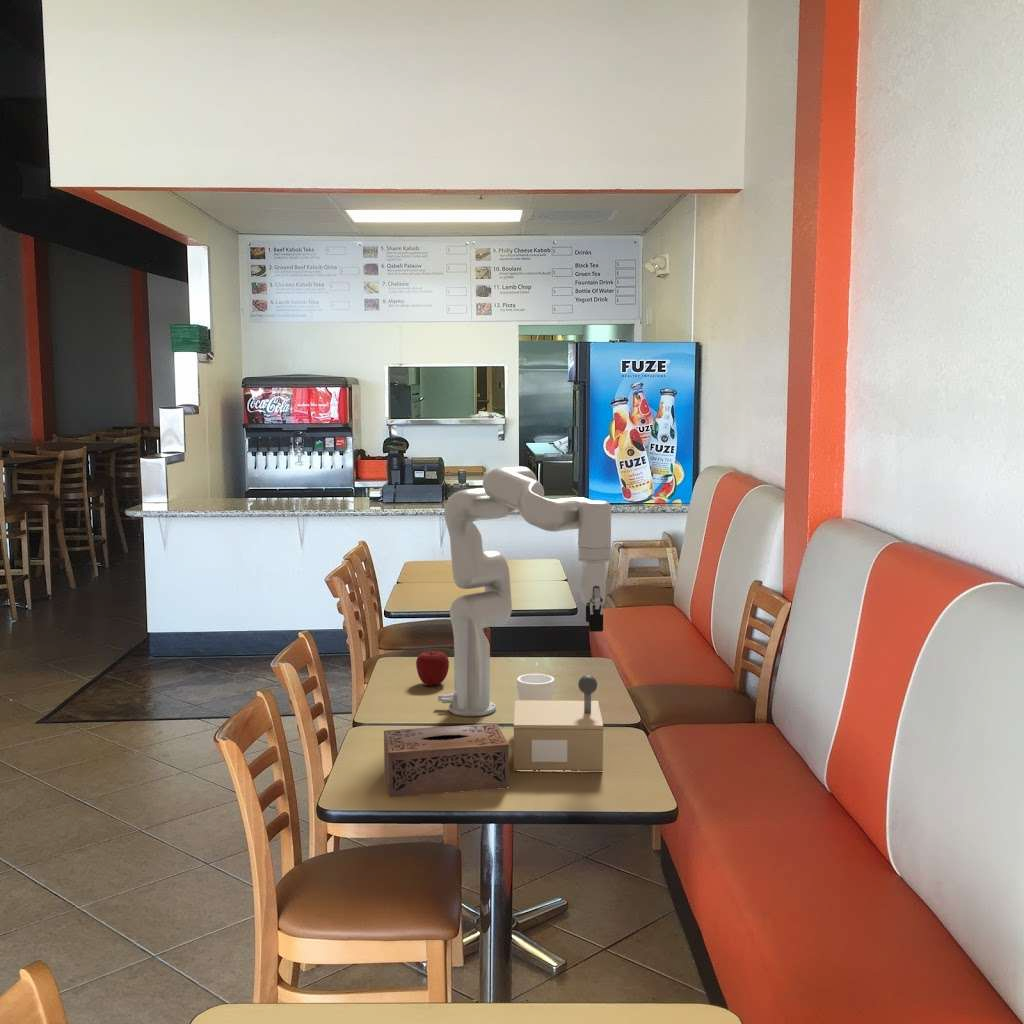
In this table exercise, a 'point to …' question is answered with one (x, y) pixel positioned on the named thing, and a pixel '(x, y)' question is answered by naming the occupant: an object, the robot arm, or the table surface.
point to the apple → (432, 667)
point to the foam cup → (535, 687)
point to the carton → (558, 749)
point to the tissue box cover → (445, 759)
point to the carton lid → (561, 711)
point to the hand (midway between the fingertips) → (594, 626)
